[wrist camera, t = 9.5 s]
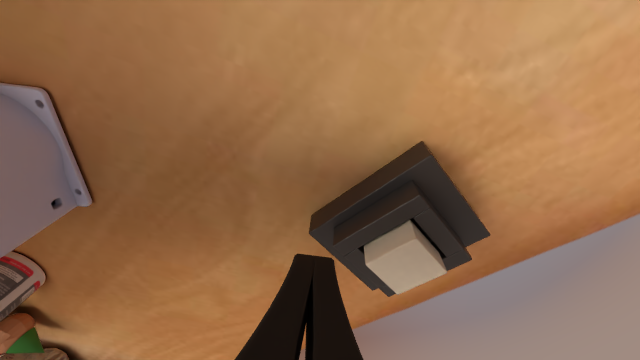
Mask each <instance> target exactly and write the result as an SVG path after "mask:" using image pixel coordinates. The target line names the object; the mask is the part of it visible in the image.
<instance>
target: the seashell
mask: <svg viewBox="0 0 640 360" xmlns="http://www.w3.org/2000/svg"><path fill="white" fill-rule="evenodd" d="M43 350H44V352H45V353H8V354H5V355H3V356H1V357H0V360H70V359H69V358H68V356H67V354H66V353H64V352H63V351H62V350H59V349H57V348H45V349H43Z"/></svg>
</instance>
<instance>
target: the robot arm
mask: <svg viewBox="0 0 640 360" xmlns="http://www.w3.org/2000/svg"><path fill="white" fill-rule="evenodd" d="M42 103H43V104H44V105H43V104H42ZM91 204H92V199H91V197H90V194H89V192H88V189H87V187H86V185H85V182H84V180H83V177H82V175H81V173H80V170H79V168H78V165H77V163H76V160H75V158H74V156H73V153H72V151H71V148H70V146H69V143H68V141H67V139H66V136H65V134H64V131H63V129H62V126H61V124H60V122H59V119H58V117H57V114H56V112H55V110H54V107H53V105H52V102H51V100H50V97H49V95H48V94H47V92H46V91H45V90H43V89H42V88H39V87H31V86H23V85H15V84H6V83H0V258H1V257H3V256H5V255H6V254H8V253H9V252H11V251H12V250H14V249H15V248H17V247H18V246H20V245H21V244H23V243H24V242H25V241H27V240H28V239H30V238H31V237H33V236H34V235H36V234H37V233H39V232H40V231H42V230H43V229H45V228H46V227H47V226H49V225H50V224H52V223H53V222H55V221H56V220H58V219H59V218H61V217H62V216H64V215H65V214H67V213H68V212H69V211H71V210H72V209H74V208H75V207H77V206H83V207H88V206H89V205H91ZM305 326H306V352H305V360H363V358H362V355H361V353H360V350H359V348H358V345H357V343H356V340H355V337H354V334H353V332H352V329H351V326H350V323H349V320H348V317H347V314H346V310H345V307H344V304H343V301H342V297H341V294H340V290H339V286H338V281H337V277H336V272H335V265H334V260H333V259H332V258H328V257H320V256H312V255H304V254H297V255H295V256H294V259H293V262H292V265H291V267H290V270H289V272H288V274H287V276H286V278H285V280H284V282H283V284H282V286H281V288H280V290H279V292H278V293H277V295H276V297H275V299H274V301H273V302H272V304H271V306H270V308H269V309H268V311H267V312H266V314H265V316H264V317H263V319H262V320H261V322H260V323H259V325H258V327H257V328H256V330H255V331H254V333H253V334H252V336H251V337H250V339H249V340H248V342H247V343H246V344H245V346H244V347H243V349H242V350H241V352H240V353H239V354H238V356H237V357H236V358H235V360H299V356H300V351H301V346H302V341H303V336H304V331H305Z"/></svg>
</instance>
